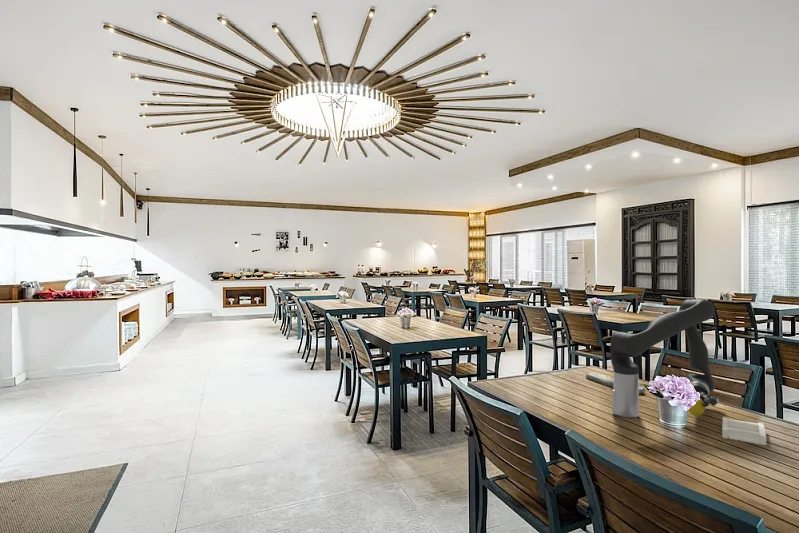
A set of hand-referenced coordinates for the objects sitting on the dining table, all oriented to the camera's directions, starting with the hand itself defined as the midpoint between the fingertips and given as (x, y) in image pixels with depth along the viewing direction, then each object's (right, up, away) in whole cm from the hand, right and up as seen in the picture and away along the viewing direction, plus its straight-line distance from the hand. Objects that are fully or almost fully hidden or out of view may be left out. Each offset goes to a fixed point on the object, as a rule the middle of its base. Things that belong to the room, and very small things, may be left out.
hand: (695, 402), depth 167 cm
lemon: (+2, -6, +2) cm, 7 cm away
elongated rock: (-2, -9, +59) cm, 60 cm away
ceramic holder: (+13, -9, -6) cm, 17 cm away
